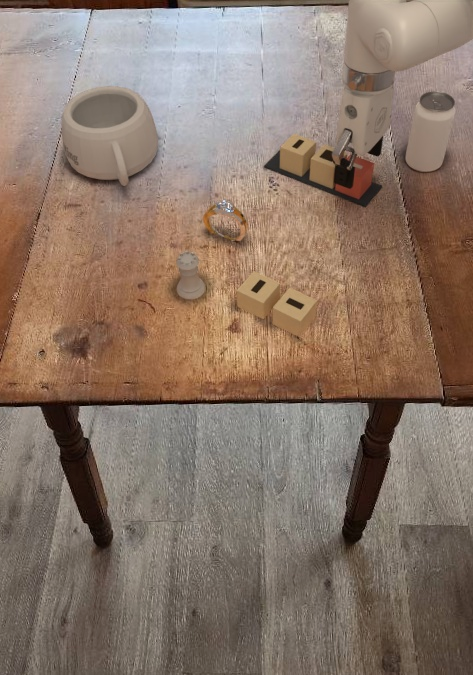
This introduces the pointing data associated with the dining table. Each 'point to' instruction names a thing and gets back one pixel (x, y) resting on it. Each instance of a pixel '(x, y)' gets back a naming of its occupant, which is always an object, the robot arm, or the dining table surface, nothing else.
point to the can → (430, 131)
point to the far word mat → (305, 179)
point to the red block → (359, 178)
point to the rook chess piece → (189, 276)
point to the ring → (227, 210)
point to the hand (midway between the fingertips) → (357, 168)
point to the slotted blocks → (276, 303)
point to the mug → (109, 133)
